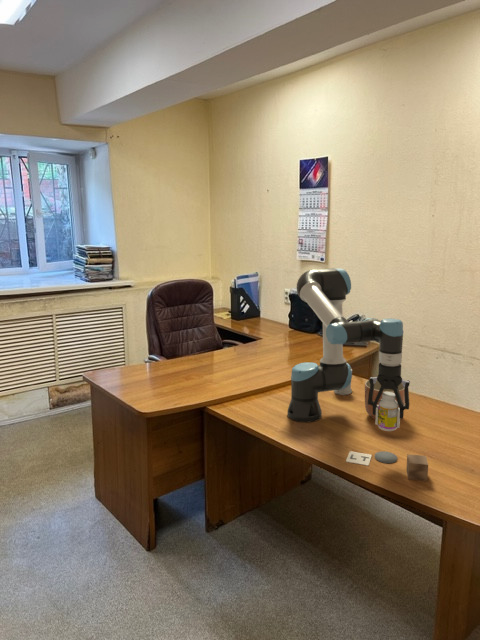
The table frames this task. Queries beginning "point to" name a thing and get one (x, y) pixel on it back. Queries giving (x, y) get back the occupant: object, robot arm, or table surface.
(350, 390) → the cup
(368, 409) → the planter
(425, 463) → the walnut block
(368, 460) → the tile
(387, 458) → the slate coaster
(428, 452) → the table surface
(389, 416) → the supplement bottle
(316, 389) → the robot arm
